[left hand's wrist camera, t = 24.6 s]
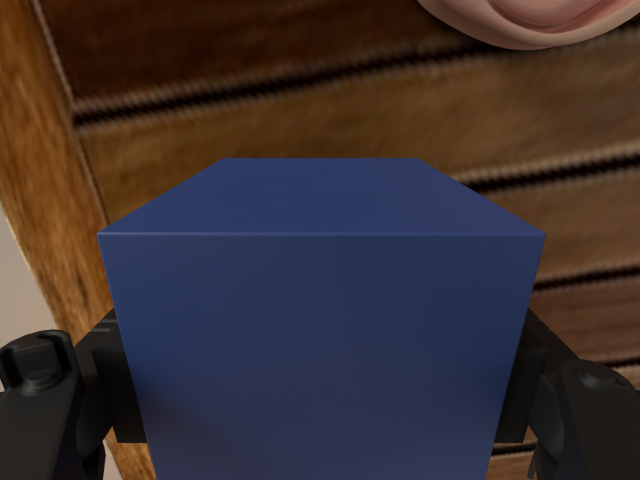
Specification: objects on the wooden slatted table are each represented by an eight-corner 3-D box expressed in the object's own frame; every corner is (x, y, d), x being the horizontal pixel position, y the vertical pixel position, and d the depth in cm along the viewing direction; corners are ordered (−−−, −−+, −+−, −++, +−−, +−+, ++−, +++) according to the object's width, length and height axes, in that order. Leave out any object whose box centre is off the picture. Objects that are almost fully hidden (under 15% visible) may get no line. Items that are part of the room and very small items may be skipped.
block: (222, 157, 15) (93, 232, 6) (418, 158, 15) (548, 233, 6) (239, 324, 18) (166, 524, 9) (401, 324, 18) (474, 525, 9)
